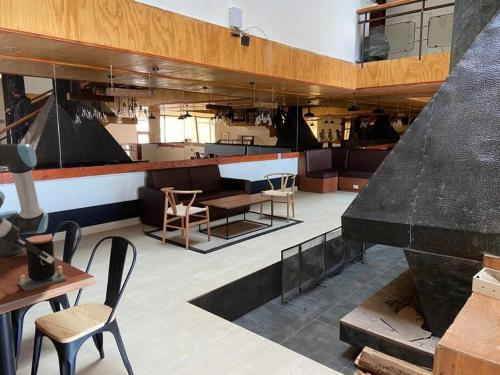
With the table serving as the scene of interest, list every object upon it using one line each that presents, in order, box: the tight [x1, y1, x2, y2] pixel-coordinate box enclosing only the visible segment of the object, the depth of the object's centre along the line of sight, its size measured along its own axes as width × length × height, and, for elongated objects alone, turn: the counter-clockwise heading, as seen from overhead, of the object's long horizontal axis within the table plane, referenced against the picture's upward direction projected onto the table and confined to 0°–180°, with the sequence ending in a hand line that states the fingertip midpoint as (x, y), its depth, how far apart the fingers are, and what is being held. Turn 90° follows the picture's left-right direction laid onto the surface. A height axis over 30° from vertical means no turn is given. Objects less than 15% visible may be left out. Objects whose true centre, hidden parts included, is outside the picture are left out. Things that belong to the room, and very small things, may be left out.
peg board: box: [17, 265, 68, 292], centre depth 165 cm, size 17×11×5 cm, turn 137°
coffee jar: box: [25, 234, 56, 281], centre depth 164 cm, size 11×11×18 cm
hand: (48, 257), depth 166 cm, fingers closed on coffee jar, 11 cm apart
